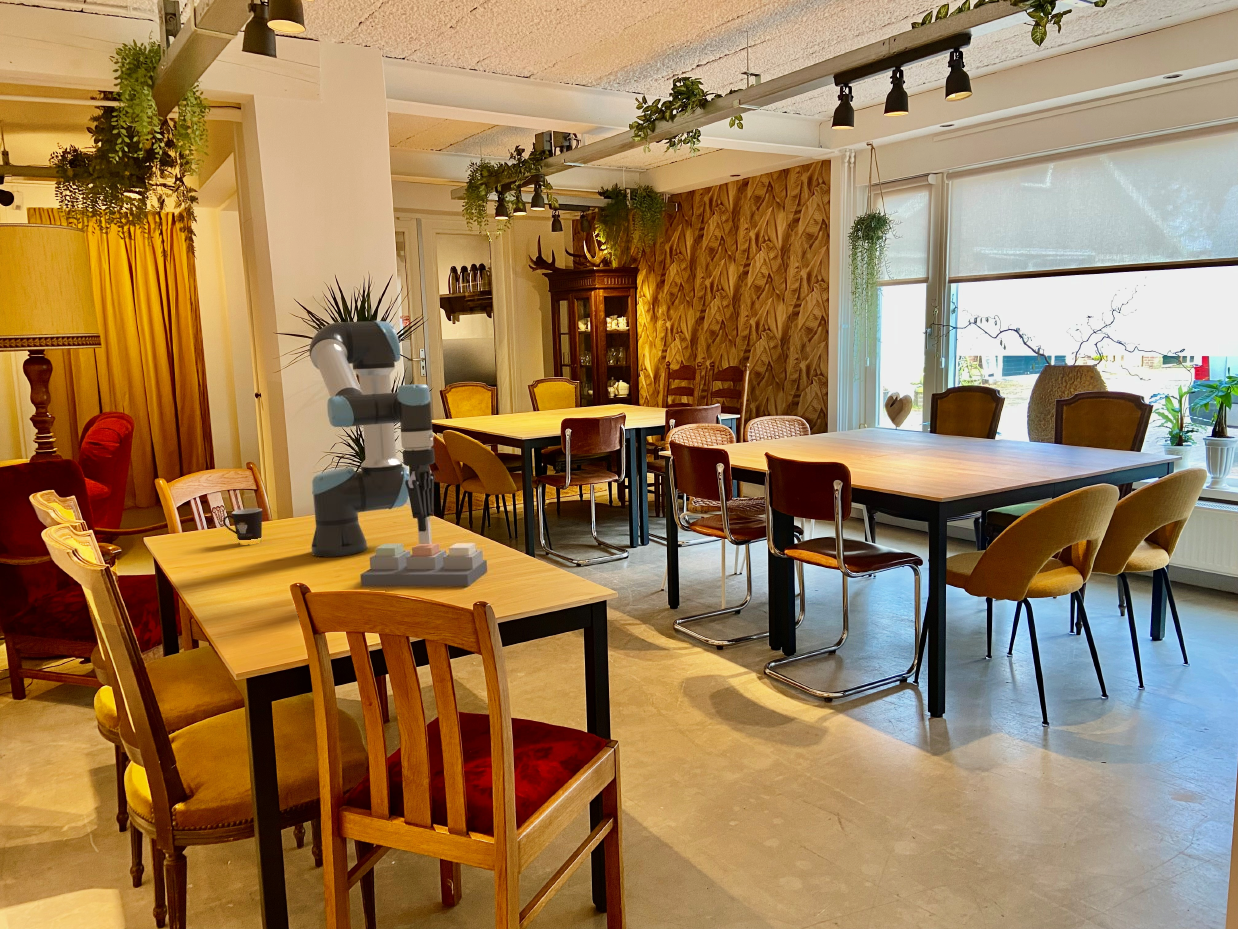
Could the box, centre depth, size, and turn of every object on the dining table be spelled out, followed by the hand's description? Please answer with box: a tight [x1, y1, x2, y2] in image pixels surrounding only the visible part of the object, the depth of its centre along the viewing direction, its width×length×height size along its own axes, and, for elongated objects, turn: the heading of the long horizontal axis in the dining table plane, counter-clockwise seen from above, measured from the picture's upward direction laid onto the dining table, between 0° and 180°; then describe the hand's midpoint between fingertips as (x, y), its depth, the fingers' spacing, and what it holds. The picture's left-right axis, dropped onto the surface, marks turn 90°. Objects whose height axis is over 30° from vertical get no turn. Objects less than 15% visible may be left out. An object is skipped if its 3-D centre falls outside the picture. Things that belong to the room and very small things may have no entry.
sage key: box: [375, 543, 405, 557], centre depth 220 cm, size 5×5×3 cm
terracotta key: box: [411, 542, 441, 556], centre depth 218 cm, size 5×5×3 cm
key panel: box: [359, 549, 488, 588], centre depth 217 cm, size 27×14×6 cm, turn 80°
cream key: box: [448, 542, 477, 556], centre depth 217 cm, size 5×5×3 cm
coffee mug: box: [222, 508, 263, 540], centre depth 272 cm, size 12×9×10 cm
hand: (425, 543), depth 218 cm, fingers closed
